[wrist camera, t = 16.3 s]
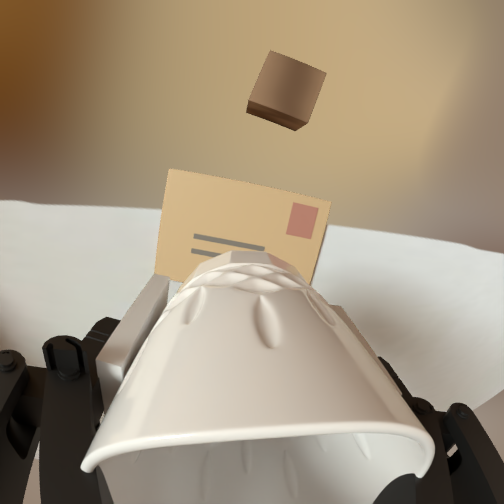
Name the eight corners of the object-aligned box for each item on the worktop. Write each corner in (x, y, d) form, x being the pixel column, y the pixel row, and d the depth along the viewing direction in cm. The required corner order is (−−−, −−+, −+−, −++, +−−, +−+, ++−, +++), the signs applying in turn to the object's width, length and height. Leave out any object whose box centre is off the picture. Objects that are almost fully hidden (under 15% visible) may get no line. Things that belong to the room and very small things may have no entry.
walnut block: (246, 112, 24) (248, 99, 20) (264, 69, 23) (270, 50, 18) (295, 131, 25) (307, 123, 20) (311, 88, 24) (326, 73, 19)
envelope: (154, 275, 28) (153, 276, 28) (169, 168, 25) (169, 168, 25) (303, 301, 30) (303, 303, 30) (330, 201, 27) (331, 202, 27)
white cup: (292, 385, 15) (332, 541, 5) (155, 357, 14) (104, 524, 4) (347, 260, 13) (496, 404, 3) (181, 215, 12) (38, 355, 2)
